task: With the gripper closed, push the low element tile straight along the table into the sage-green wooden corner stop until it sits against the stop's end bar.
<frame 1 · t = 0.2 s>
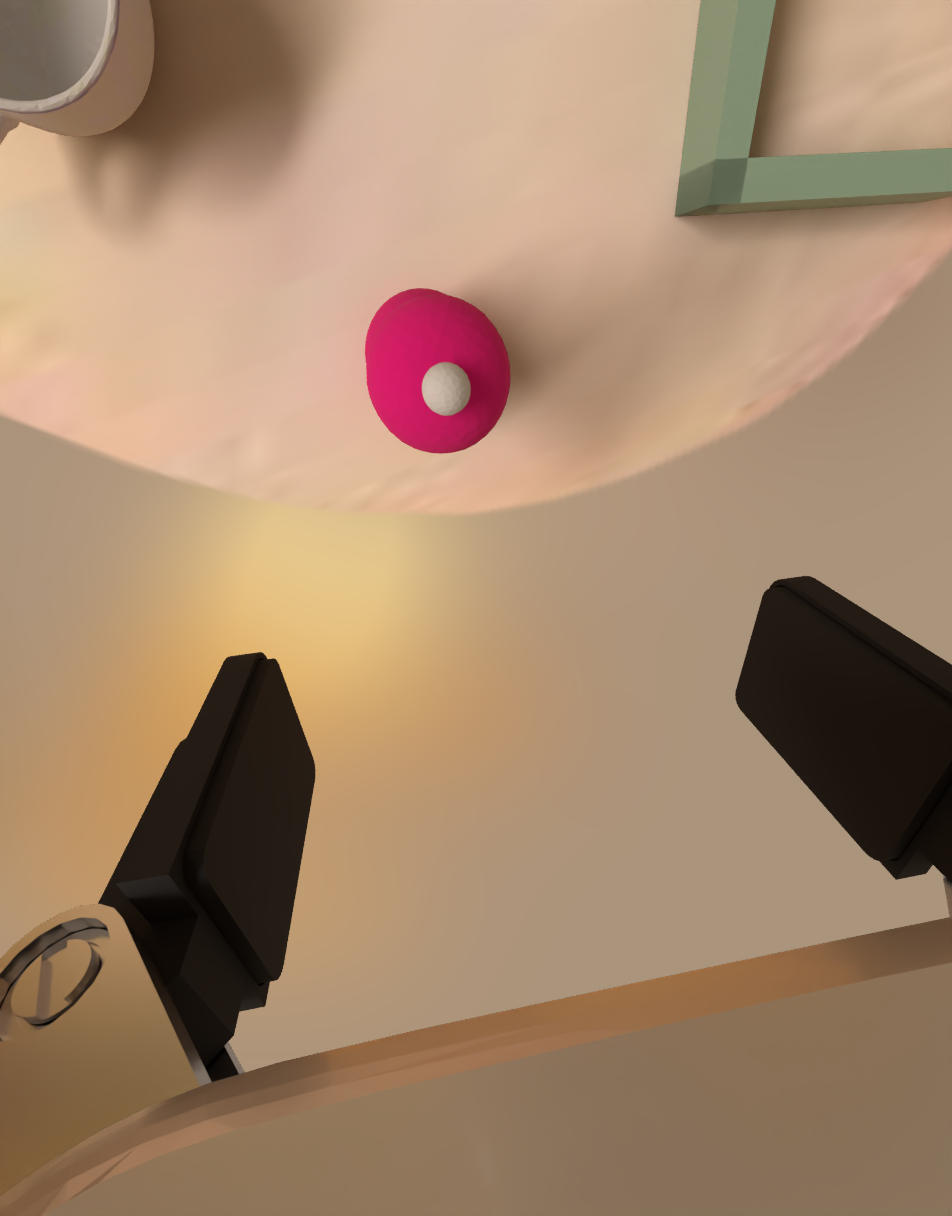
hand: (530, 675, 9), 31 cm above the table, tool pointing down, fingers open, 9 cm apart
pepper mill: (421, 352, 34), on the table
teacup: (50, 46, 24), on the table
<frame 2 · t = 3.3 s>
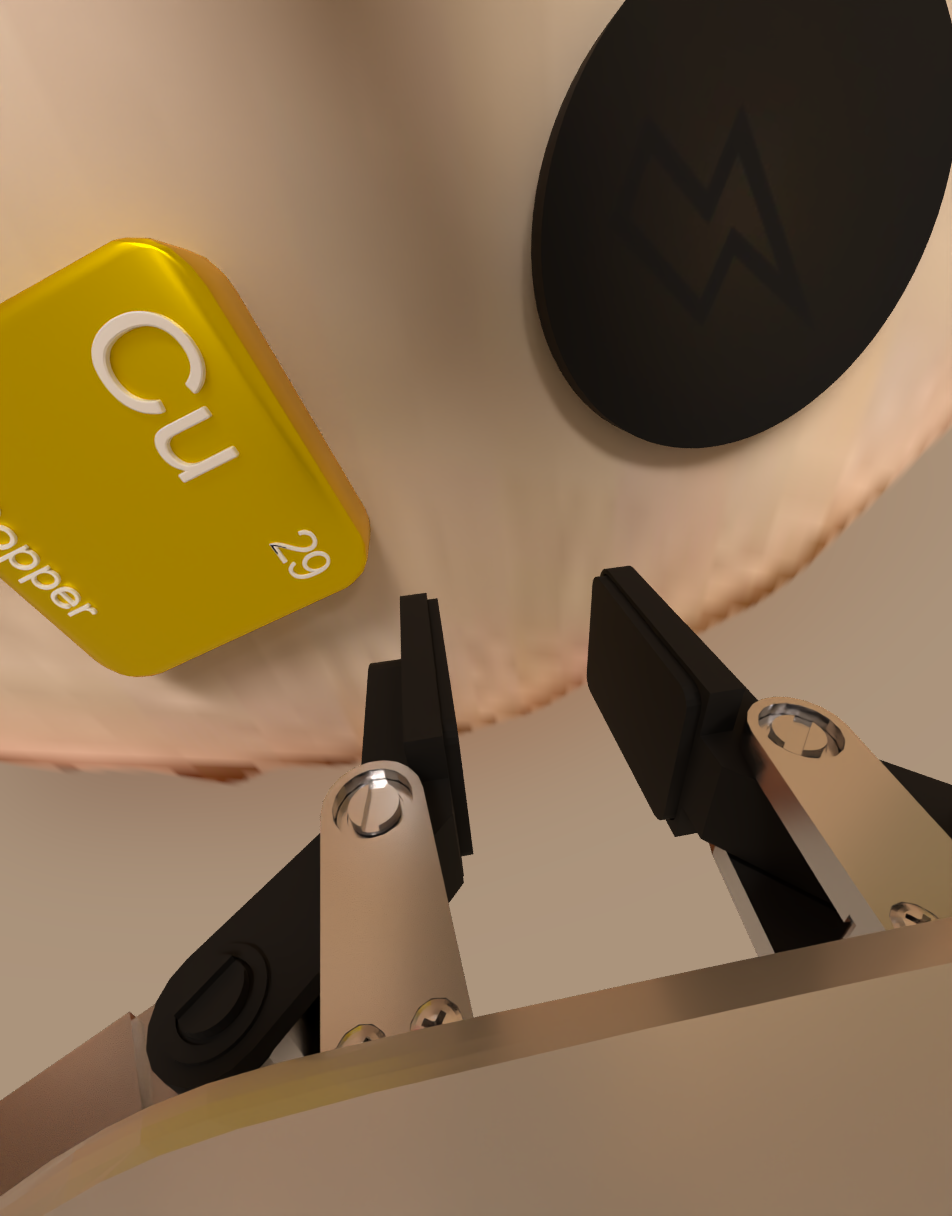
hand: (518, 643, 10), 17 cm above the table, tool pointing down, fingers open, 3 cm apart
element tile: (178, 475, 24), on the table
wireless charger: (716, 239, 22), on the table
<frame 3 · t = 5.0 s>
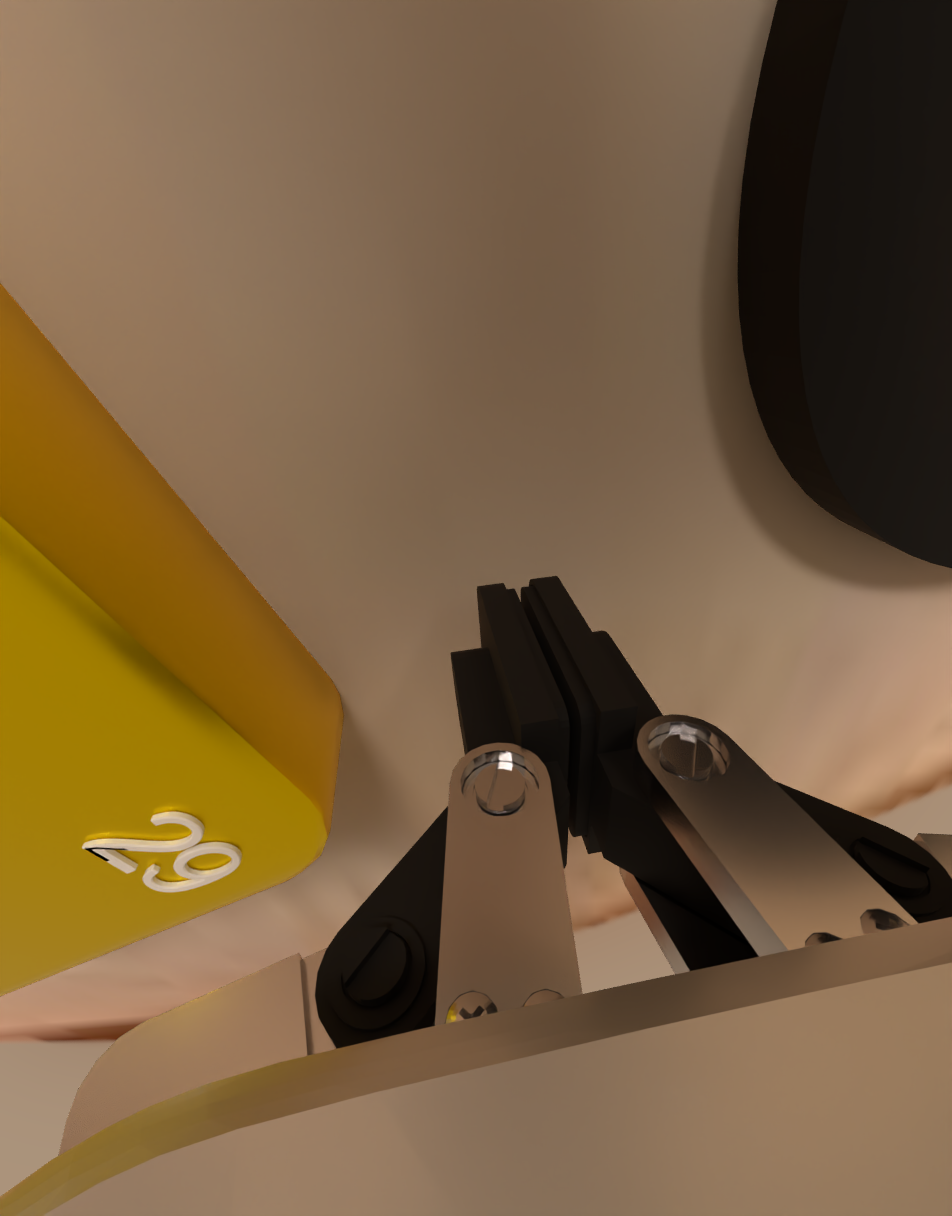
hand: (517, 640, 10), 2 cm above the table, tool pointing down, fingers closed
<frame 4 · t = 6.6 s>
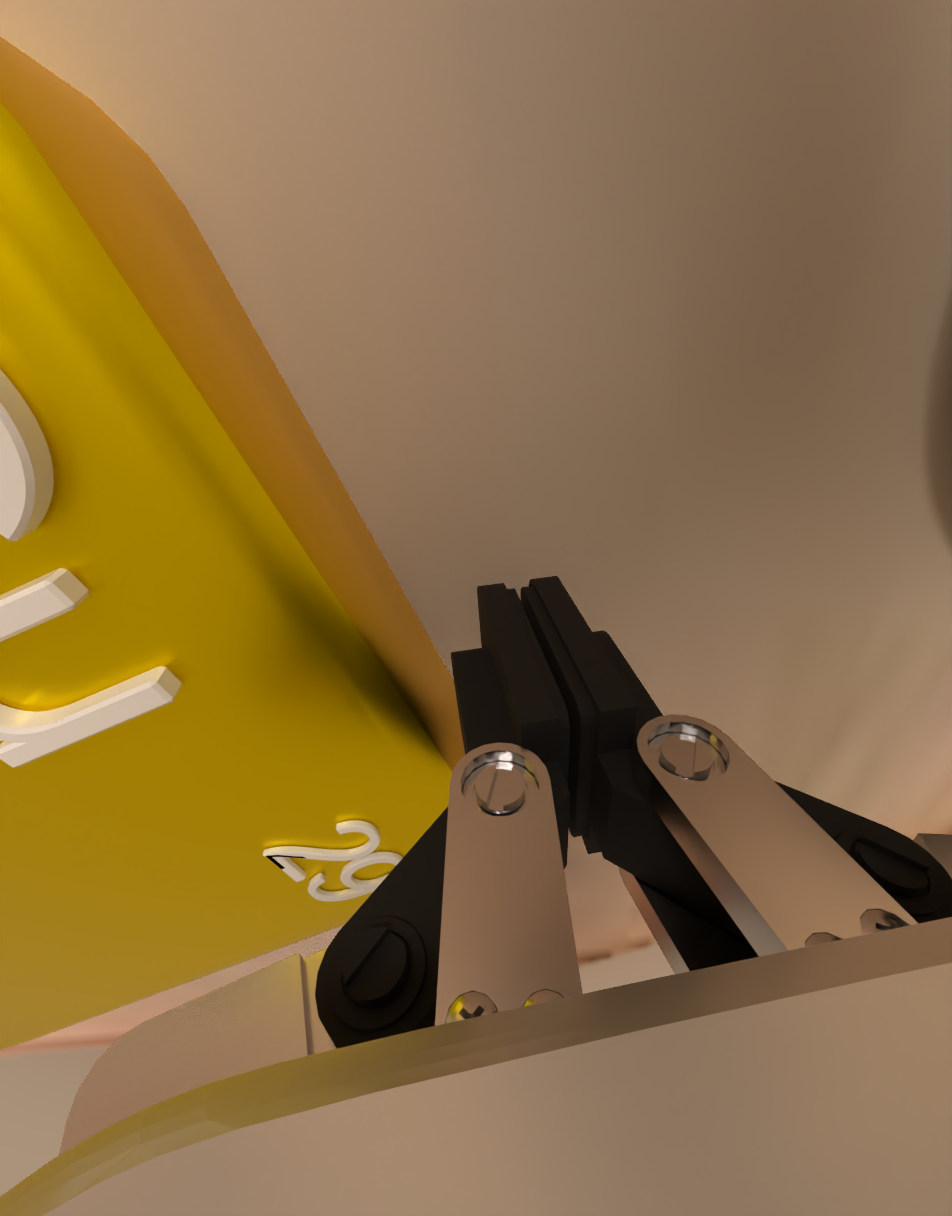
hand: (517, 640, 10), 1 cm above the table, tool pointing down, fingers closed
element tile: (67, 635, 11), on the table, touching gripper
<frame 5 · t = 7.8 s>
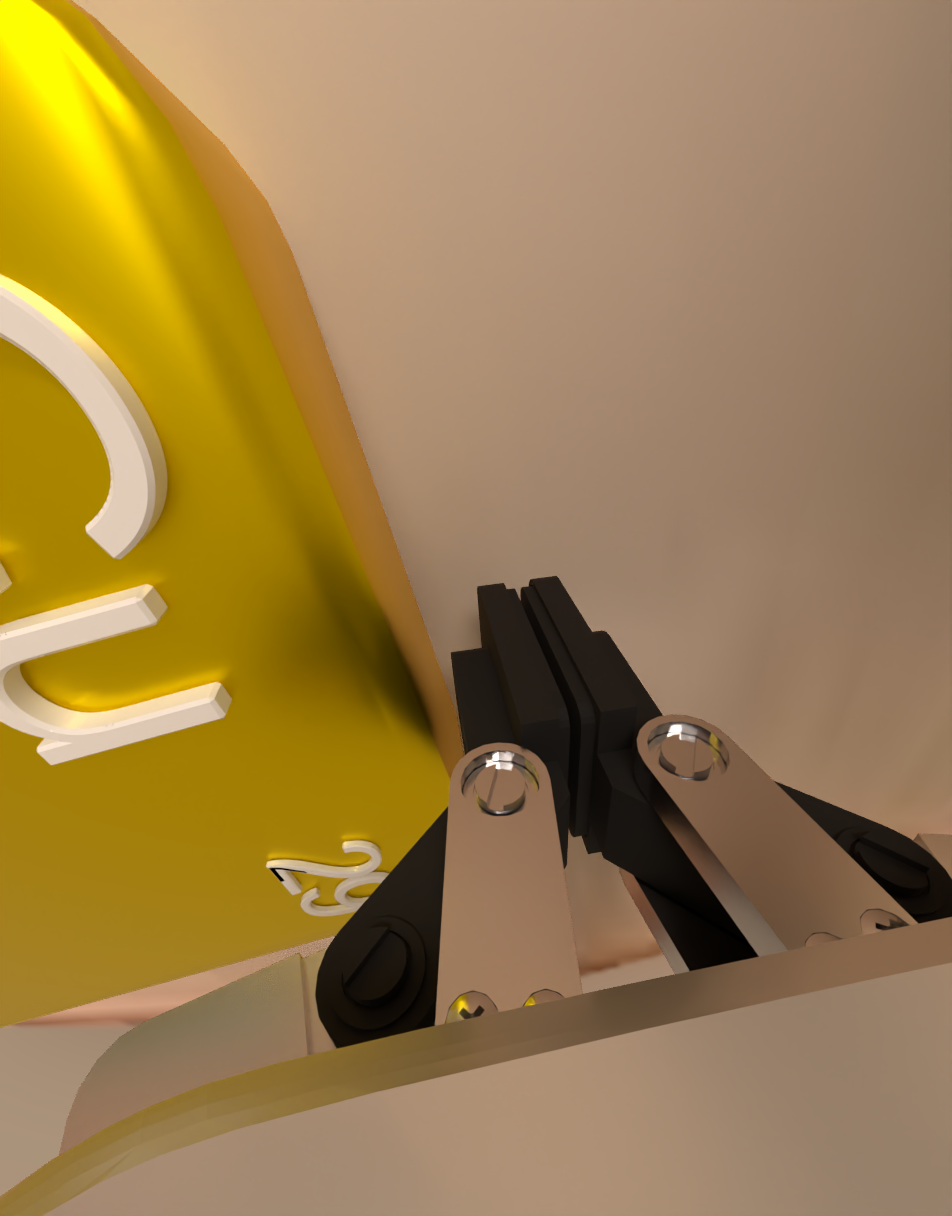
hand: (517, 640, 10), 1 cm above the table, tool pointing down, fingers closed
element tile: (78, 622, 11), on the table, touching corner stop, gripper
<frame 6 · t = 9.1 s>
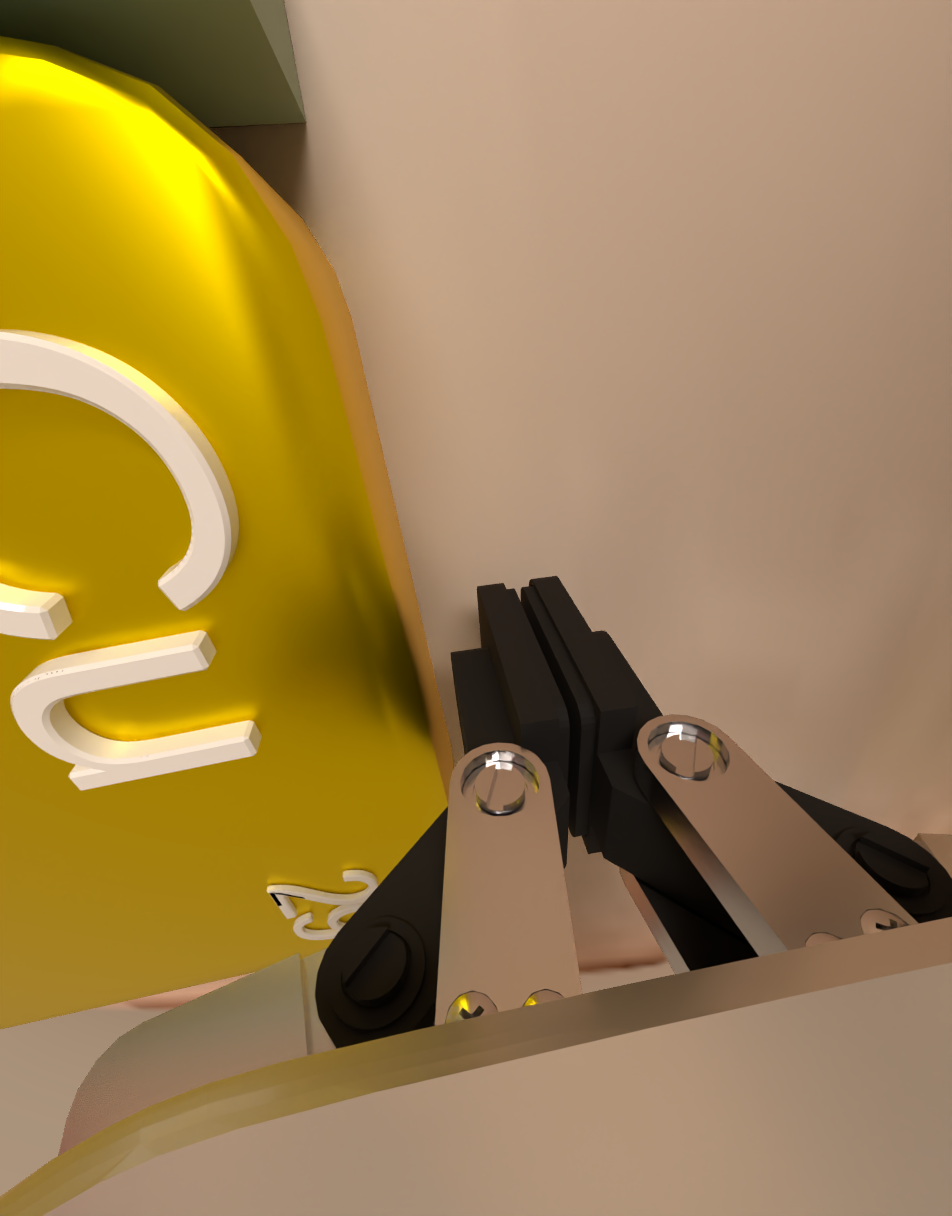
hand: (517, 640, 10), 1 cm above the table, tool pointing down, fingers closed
element tile: (89, 632, 11), on the table
corner stop: (59, 668, 11), on the table
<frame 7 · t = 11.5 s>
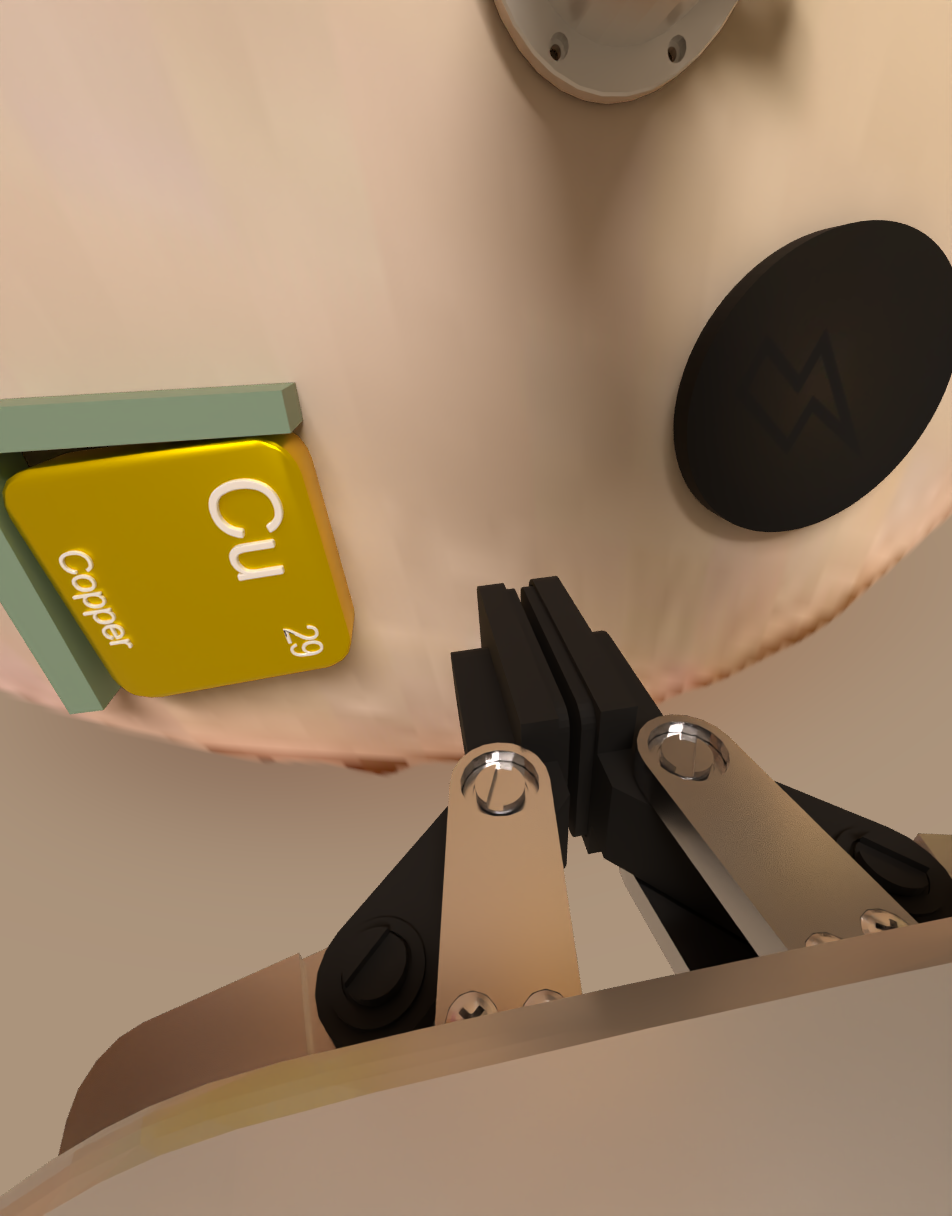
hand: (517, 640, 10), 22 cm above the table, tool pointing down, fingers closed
element tile: (221, 553, 32), on the table
wireless charger: (796, 394, 32), on the table
corner stop: (213, 565, 32), on the table
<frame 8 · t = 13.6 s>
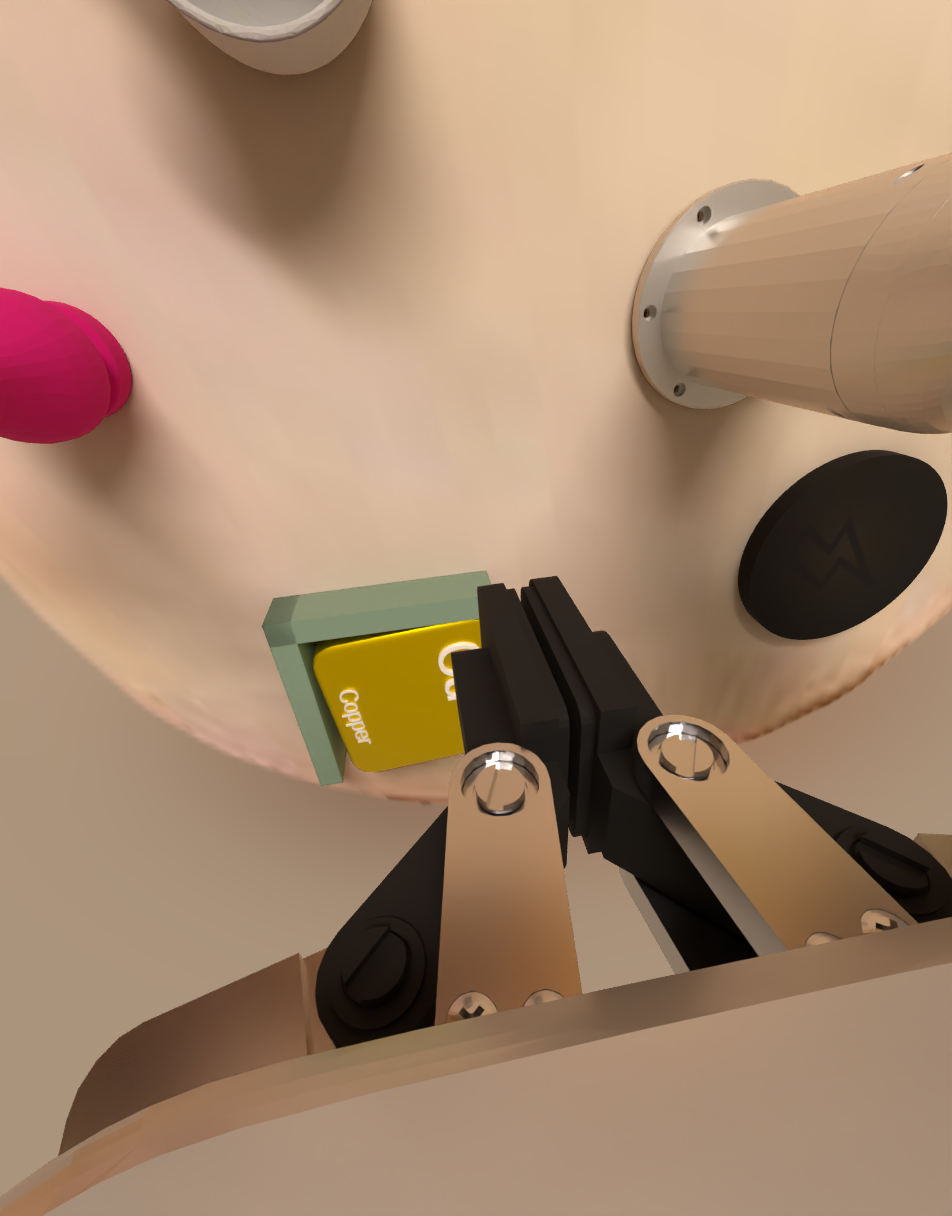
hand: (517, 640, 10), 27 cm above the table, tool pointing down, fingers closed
pepper mill: (75, 362, 29), on the table
element tile: (417, 670, 45), on the table
wireless charger: (827, 547, 45), on the table
corner stop: (413, 680, 45), on the table
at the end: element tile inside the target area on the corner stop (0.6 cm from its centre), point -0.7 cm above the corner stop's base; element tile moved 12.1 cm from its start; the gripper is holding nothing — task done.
